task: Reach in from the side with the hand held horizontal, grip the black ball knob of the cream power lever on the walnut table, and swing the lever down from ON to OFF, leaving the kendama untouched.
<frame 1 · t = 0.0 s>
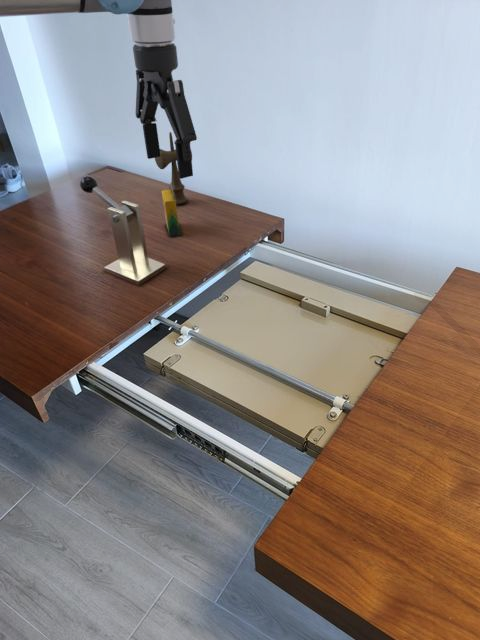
hand: (169, 166, 96), 24 cm above the table, tool pointing down, fingers open, 13 cm apart
crayon box: (173, 230, 128), on the table
kendama: (178, 203, 141), on the table
lever: (105, 198, 104), point 16 cm above the table, hinge at 24.0°
switch bracket: (135, 270, 112), on the table
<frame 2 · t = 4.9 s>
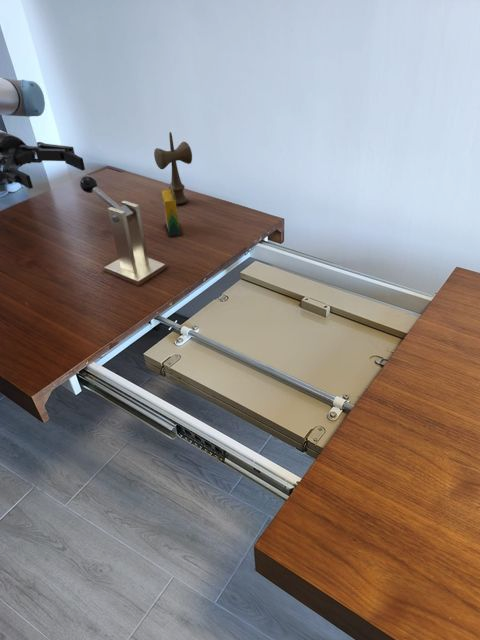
hand: (57, 173, 106), 20 cm above the table, tool horizontal, fingers open, 13 cm apart
nothing on the table moved.
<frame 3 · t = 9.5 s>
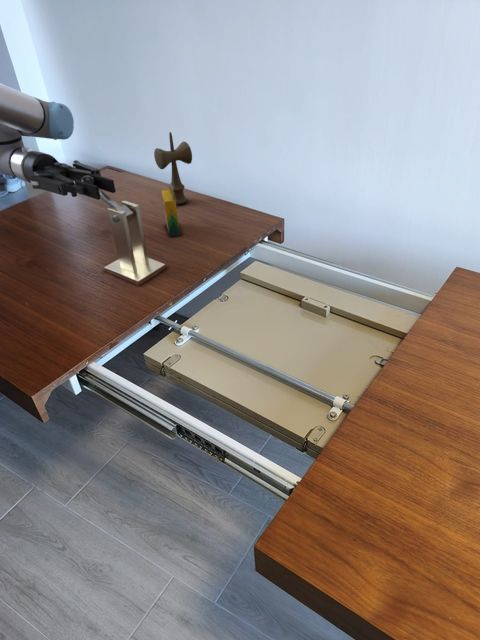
hand: (105, 189, 102), 18 cm above the table, tool horizontal, fingers closed on lever, 4 cm apart
lever: (105, 198, 104), point 16 cm above the table, hinge at 24.0°, touching gripper
everything else where it was.
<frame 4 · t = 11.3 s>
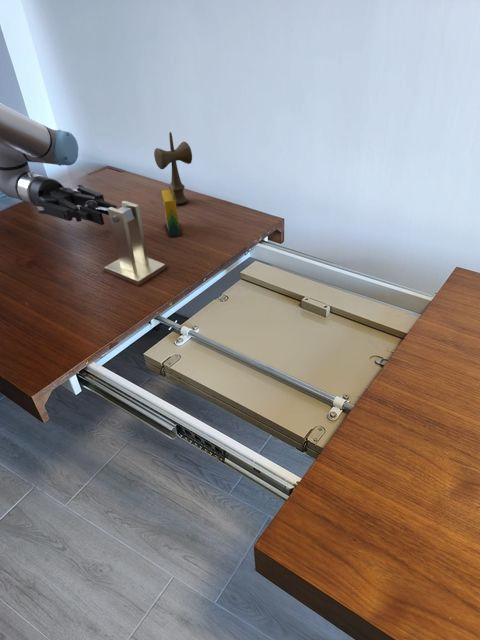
hand: (108, 215, 106), 12 cm above the table, tool horizontal, fingers closed on lever, 4 cm apart
lever: (107, 211, 106), point 13 cm above the table, hinge at -6.9°, touching gripper
everything else where it was.
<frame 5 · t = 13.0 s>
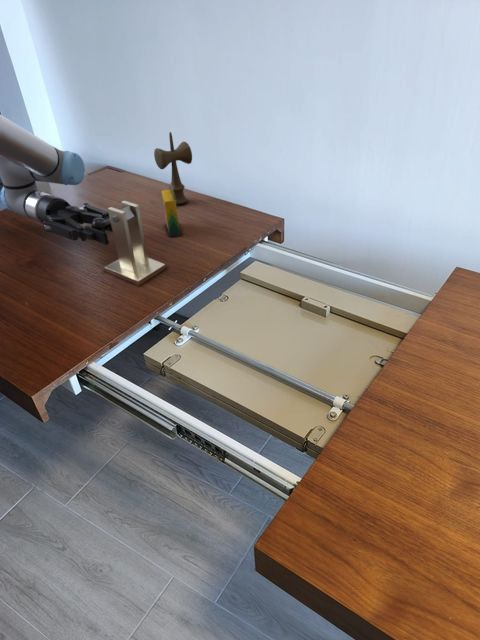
hand: (114, 234, 109), 8 cm above the table, tool horizontal, fingers open, 4 cm apart
lever: (111, 220, 107), point 11 cm above the table, hinge at -28.5°
everything else where it was.
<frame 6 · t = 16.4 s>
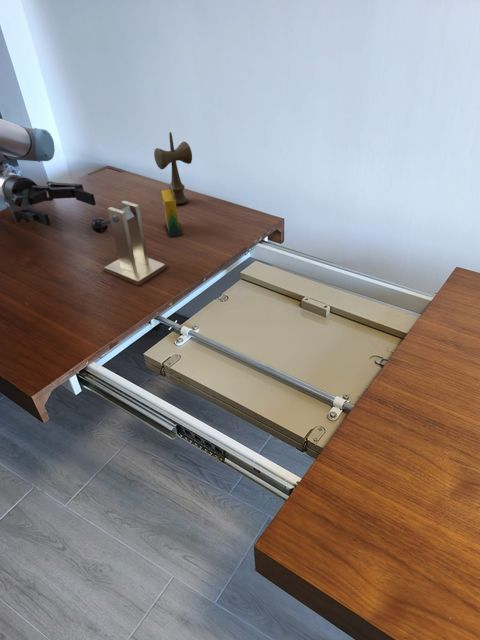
hand: (71, 209, 113), 10 cm above the table, tool horizontal, fingers open, 13 cm apart
nothing on the table moved.
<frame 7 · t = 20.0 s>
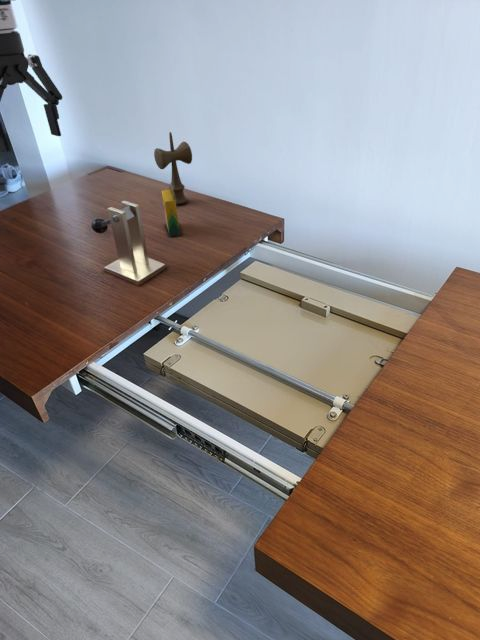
hand: (31, 142, 108), 24 cm above the table, tool pointing down, fingers open, 13 cm apart
nothing on the table moved.
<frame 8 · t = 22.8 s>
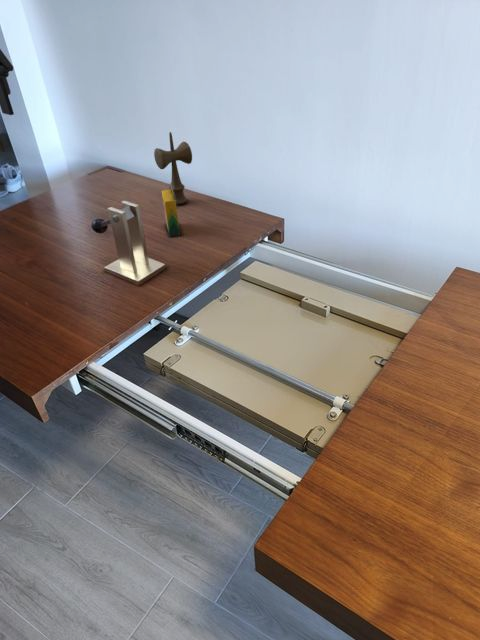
nothing on the table moved.
at the end: lever at -28° (first picture: +24°); kendama moved 0.2 cm from its start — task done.
